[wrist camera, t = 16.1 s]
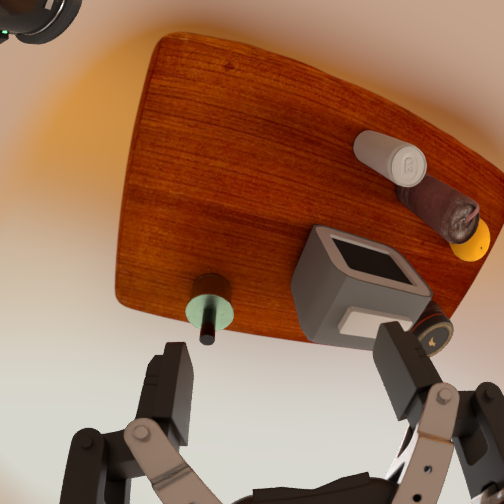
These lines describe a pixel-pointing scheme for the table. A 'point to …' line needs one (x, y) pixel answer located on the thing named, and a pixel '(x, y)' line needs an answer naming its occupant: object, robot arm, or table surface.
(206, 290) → the pot
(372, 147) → the beverage can
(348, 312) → the alarm clock
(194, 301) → the lid
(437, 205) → the can
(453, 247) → the orange
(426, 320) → the jar
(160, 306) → the table surface
